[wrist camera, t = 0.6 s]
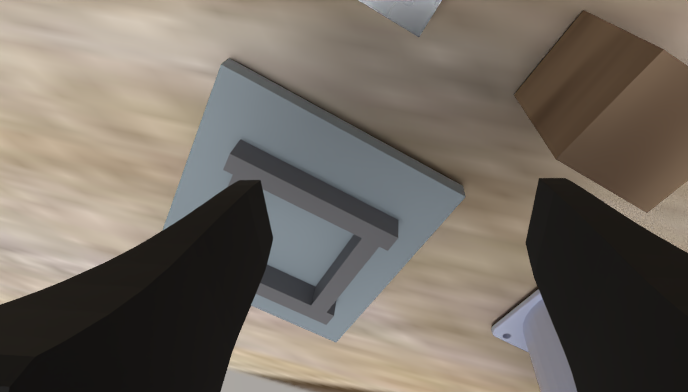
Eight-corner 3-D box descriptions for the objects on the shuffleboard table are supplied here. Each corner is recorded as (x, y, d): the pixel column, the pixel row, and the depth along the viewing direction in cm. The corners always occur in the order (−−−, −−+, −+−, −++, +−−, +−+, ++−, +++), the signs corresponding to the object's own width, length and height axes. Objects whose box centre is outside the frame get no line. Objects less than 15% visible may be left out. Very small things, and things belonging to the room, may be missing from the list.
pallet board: (463, 185, 21) (469, 214, 19) (337, 330, 29) (333, 362, 27) (228, 58, 19) (207, 74, 17) (159, 251, 26) (138, 279, 24)
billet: (658, 61, 17) (764, 119, 12) (583, 136, 19) (646, 212, 14) (583, 10, 16) (663, 49, 11) (513, 94, 18) (555, 159, 13)
